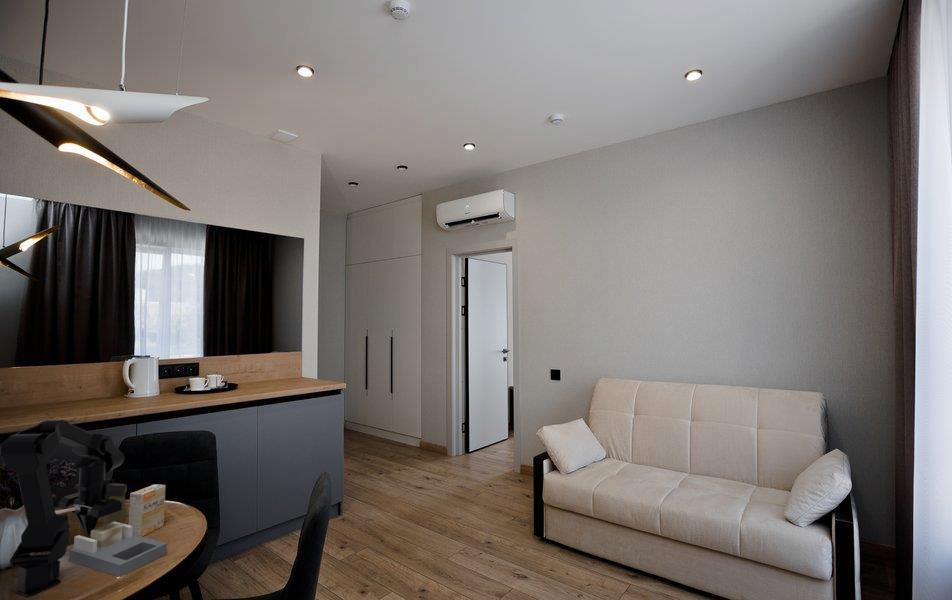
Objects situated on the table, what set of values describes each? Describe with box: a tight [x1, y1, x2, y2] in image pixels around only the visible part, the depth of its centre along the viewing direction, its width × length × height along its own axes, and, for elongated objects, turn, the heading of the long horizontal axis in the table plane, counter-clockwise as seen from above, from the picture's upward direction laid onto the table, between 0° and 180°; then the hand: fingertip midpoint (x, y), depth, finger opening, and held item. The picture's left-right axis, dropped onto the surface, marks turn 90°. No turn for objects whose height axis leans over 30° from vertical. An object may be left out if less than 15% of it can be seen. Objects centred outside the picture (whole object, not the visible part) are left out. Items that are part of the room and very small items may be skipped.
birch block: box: [90, 523, 122, 549], centre depth 125 cm, size 5×5×4 cm
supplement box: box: [128, 484, 166, 537], centre depth 138 cm, size 8×5×13 cm, turn 168°
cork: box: [103, 483, 128, 524], centre depth 146 cm, size 6×6×11 cm
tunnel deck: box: [68, 521, 168, 578], centre depth 123 cm, size 12×21×6 cm, turn 70°
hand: (89, 534), depth 127 cm, fingers closed
